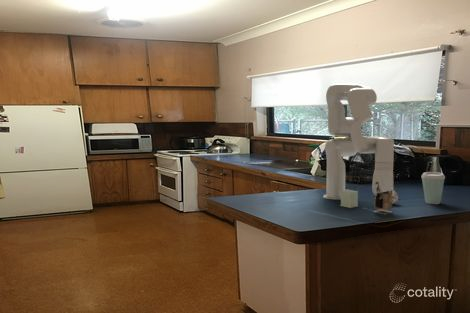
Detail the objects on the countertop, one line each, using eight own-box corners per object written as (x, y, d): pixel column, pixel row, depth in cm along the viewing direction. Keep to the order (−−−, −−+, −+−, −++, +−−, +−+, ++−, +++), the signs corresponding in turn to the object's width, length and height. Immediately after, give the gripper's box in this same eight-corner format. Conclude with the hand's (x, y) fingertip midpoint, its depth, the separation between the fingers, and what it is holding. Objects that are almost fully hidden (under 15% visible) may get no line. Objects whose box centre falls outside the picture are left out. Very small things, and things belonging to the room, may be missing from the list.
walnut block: (380, 206, 179) (381, 191, 178) (392, 208, 175) (392, 192, 174) (373, 208, 176) (374, 192, 175) (385, 210, 171) (385, 194, 171)
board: (351, 203, 196) (351, 201, 196) (397, 212, 178) (397, 210, 177) (333, 208, 187) (333, 205, 187) (380, 217, 169) (380, 215, 169)
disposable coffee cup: (445, 205, 190) (447, 175, 189) (421, 204, 194) (422, 174, 192) (442, 201, 200) (443, 172, 199) (418, 200, 204) (420, 171, 202)
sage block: (347, 203, 193) (348, 189, 192) (357, 205, 189) (357, 191, 188) (340, 205, 189) (341, 191, 189) (350, 207, 185) (350, 192, 184)
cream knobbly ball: (386, 211, 195) (382, 193, 201) (404, 207, 191) (399, 188, 196) (380, 205, 189) (376, 186, 195) (398, 200, 185) (393, 181, 190)
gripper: (386, 163, 182) (385, 202, 183) (365, 166, 171) (364, 208, 173) (402, 165, 176) (400, 205, 178) (381, 168, 165) (379, 211, 167)
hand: (382, 206), depth 175 cm, fingers closed on walnut block, 5 cm apart
